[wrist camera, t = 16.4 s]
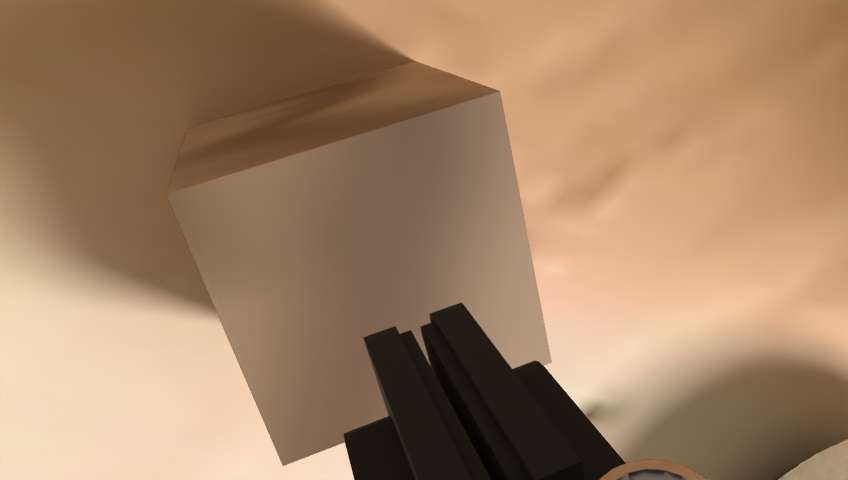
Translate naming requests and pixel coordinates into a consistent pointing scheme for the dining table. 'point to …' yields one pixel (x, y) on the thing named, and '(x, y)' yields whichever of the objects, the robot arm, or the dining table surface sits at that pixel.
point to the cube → (355, 238)
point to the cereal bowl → (823, 465)
